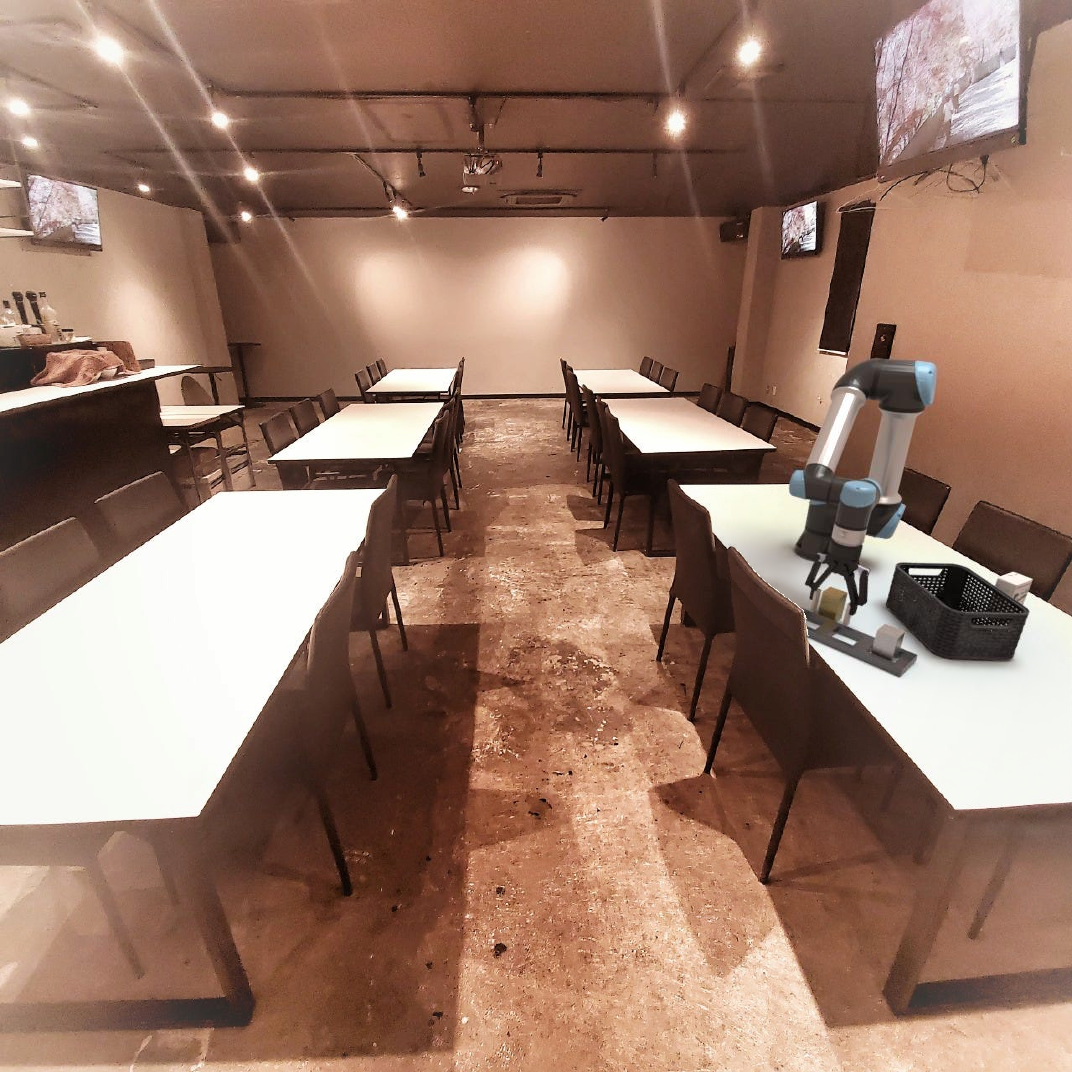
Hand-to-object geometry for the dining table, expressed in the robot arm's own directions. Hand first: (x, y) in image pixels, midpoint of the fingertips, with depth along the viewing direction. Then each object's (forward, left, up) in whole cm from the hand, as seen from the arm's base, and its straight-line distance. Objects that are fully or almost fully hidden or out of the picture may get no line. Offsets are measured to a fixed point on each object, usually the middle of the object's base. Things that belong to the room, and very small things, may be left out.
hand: (829, 617), depth 161 cm
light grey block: (+17, -9, 0) cm, 20 cm away
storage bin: (+22, +18, -1) cm, 29 cm away
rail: (+8, -9, 0) cm, 12 cm away
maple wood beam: (0, 0, 0) cm, 0 cm away
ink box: (+30, +38, 0) cm, 49 cm away
